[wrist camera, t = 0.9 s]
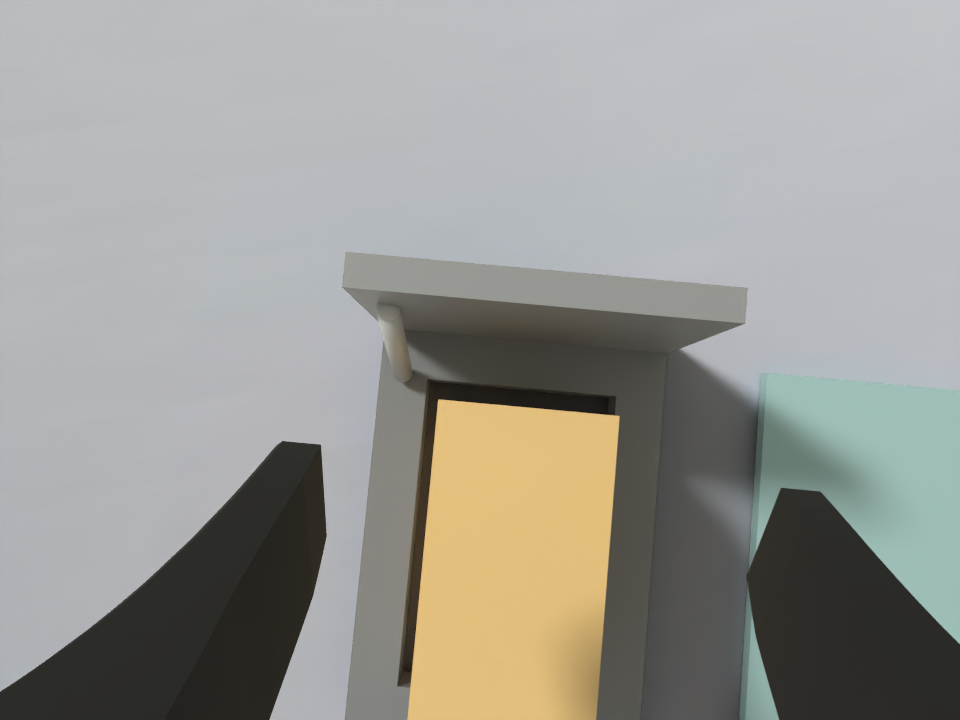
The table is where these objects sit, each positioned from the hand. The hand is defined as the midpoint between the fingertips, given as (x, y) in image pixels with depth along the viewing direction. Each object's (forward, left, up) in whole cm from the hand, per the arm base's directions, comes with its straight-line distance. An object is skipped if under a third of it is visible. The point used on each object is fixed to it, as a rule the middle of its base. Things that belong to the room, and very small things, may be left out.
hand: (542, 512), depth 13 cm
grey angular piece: (-2, 0, -14) cm, 14 cm away
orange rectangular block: (-2, 0, -14) cm, 14 cm away
